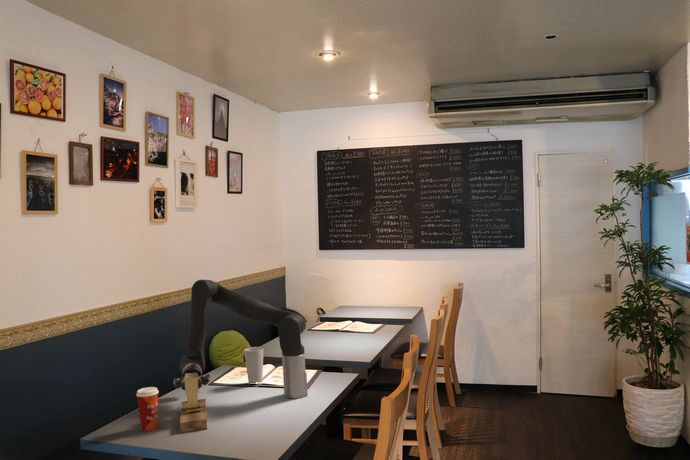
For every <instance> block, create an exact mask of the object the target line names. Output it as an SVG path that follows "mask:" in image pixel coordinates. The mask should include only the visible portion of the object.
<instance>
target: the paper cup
mask: <svg viewBox="0 0 690 460" xmlns="http://www.w3.org/2000/svg"><path fill="white" fill-rule="evenodd" d="M159 392H160V391H159V390H158V387H154V386H148V387H142V388H140V389H137V391H136V395H135V396H136V398H137V404H138V405H137V406H138V414H139V422H140V429H141V431H143V432H151V431H154V430H157V429H158V425H159V423H158V422H159V417H158V416H159Z"/></svg>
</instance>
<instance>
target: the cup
mask: <svg viewBox="0 0 690 460" xmlns="http://www.w3.org/2000/svg"><path fill="white" fill-rule="evenodd" d="M243 352H244V358H245V365H246V373H247V379H248V381H247V382H248V384H249V383H256V382H261V381H262V382H263V373H264V347H262V346H252V347H250V346H249V347H247V348H244V350H243Z"/></svg>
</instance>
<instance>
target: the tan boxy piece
mask: <svg viewBox="0 0 690 460" xmlns="http://www.w3.org/2000/svg"><path fill="white" fill-rule="evenodd" d="M198 394H199V389H198V372H196V373H187V374H185V390H184V395H185V396H186V401H187V408H194V407H198V400H199V398H198Z"/></svg>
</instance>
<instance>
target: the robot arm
mask: <svg viewBox="0 0 690 460" xmlns="http://www.w3.org/2000/svg"><path fill="white" fill-rule="evenodd" d="M190 296H191V297H190V302H191V303H190V304H191V305H190V307H191V308H190V310H191V311H190V324H189V325H190V326H189V332H188V337H187V345H186V348H187V349H188V350H190V351H194V352H196V353H197V355H190V354H185V355H183V356H182V357H181V358H180V360H179V370H180V371H181V373H182V375H181V377H180V378H177V377H173V386H174V387H175V388H176V389H181V390H183V391H185V374H187V373H196V372H198V390H200V388H203V387H202V386H207V385H208V384H209V382H210V381H211V375H210V373H209V374H208V373H207V374H206V375H203V371H204V370H205V369H206V359H205V342H206V336H207V324H206V322H207V321H206V307H207V303H208V302H211V303H214V304H218V305H220V306H223V307H225V308H227V309H229V311H231V312H232V313H233V314H235V315H237V316H238V317H240V318H243V319H246V320H249V321H252V322H256V323H263V324H270V325H273V326H276V327H278V341H279V346H280V350H281V357H282V358H281V359H282V361H281V362H282V375H283V379H282V380H283V394H284V395H283V396H284V397H285V398H287V399H299V398H303V397H307V396H308V395H309V393H308V376H307V375H308V374H307V372H306V357H305V346H304V345H303V344H302V340H301V335H302V334H303V332H305V330H306V327H307V322H306V320H305V318H304V317H303V316H302V315H301V314H298V313H297V312H296V313H295V312H291V311H287V310H284V309H281V308H278V307H276V306H273V305H271V304H269V303H267V302H264V301H262V300H260V299H257V298H255V297H252V296H250V295H247V294H245V293H241V292H238V291H234V290H231V289H228V288H227V287H225V286H223V285H220V284H219V283H217V282H216V281H213V280H211V279H198V280H196V281H195V282H194V283H193V284H192V287H191V293H190Z"/></svg>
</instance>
